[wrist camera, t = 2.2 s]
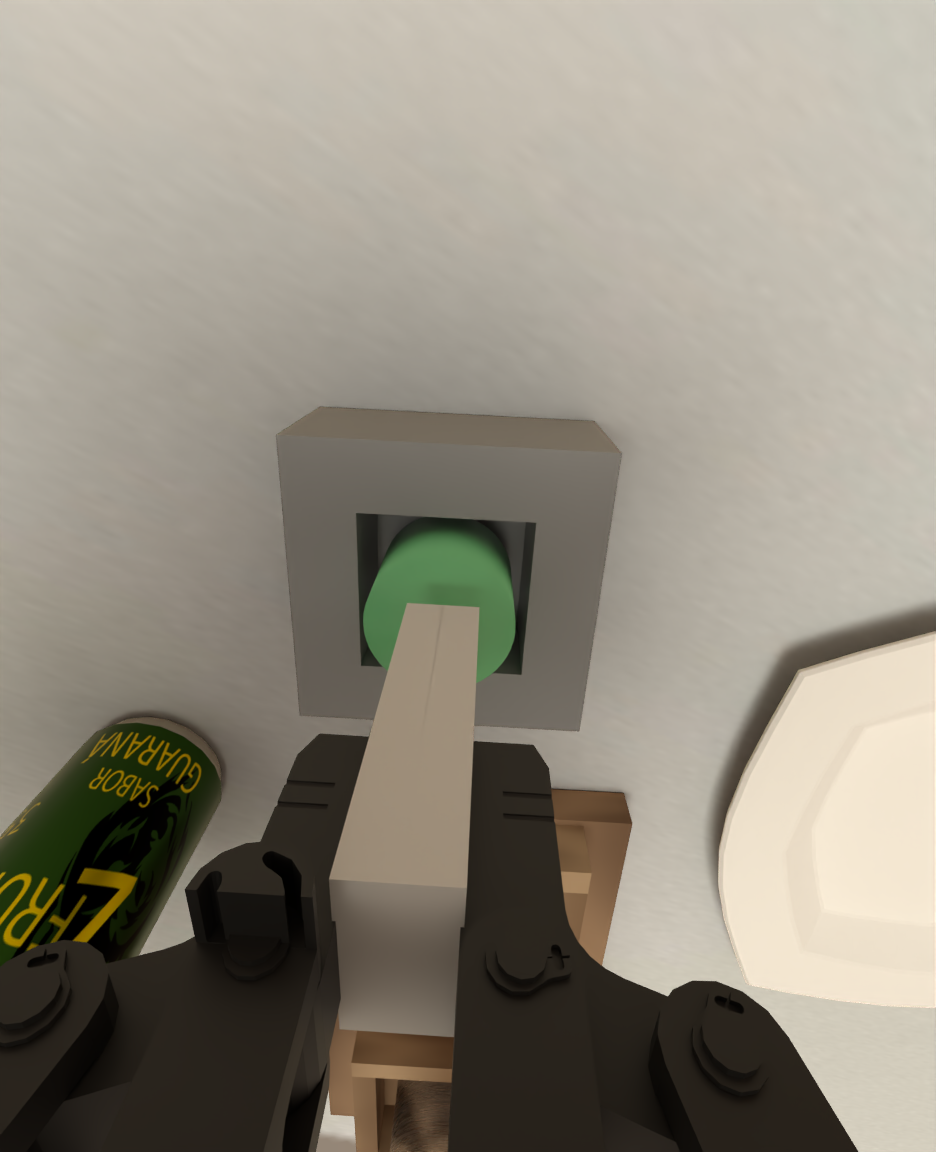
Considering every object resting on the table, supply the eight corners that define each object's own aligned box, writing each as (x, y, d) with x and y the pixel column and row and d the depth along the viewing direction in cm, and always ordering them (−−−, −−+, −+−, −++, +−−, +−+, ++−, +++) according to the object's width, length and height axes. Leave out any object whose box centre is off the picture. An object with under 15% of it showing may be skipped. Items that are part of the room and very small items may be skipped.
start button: (383, 627, 18) (364, 686, 15) (382, 510, 16) (360, 552, 14) (506, 633, 18) (509, 694, 15) (516, 517, 16) (521, 561, 14)
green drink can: (216, 832, 25) (5, 1245, 14) (84, 795, 24) (-244, 1198, 13) (241, 734, 23) (16, 1133, 12) (97, 691, 22) (-281, 1070, 11)
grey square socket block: (332, 643, 21) (300, 715, 17) (319, 406, 18) (276, 434, 14) (563, 656, 21) (579, 731, 17) (594, 421, 18) (621, 453, 14)
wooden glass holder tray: (337, 1080, 32) (321, 1165, 29) (313, 775, 24) (286, 849, 20) (563, 1094, 32) (571, 1181, 29) (624, 793, 23) (645, 871, 20)
